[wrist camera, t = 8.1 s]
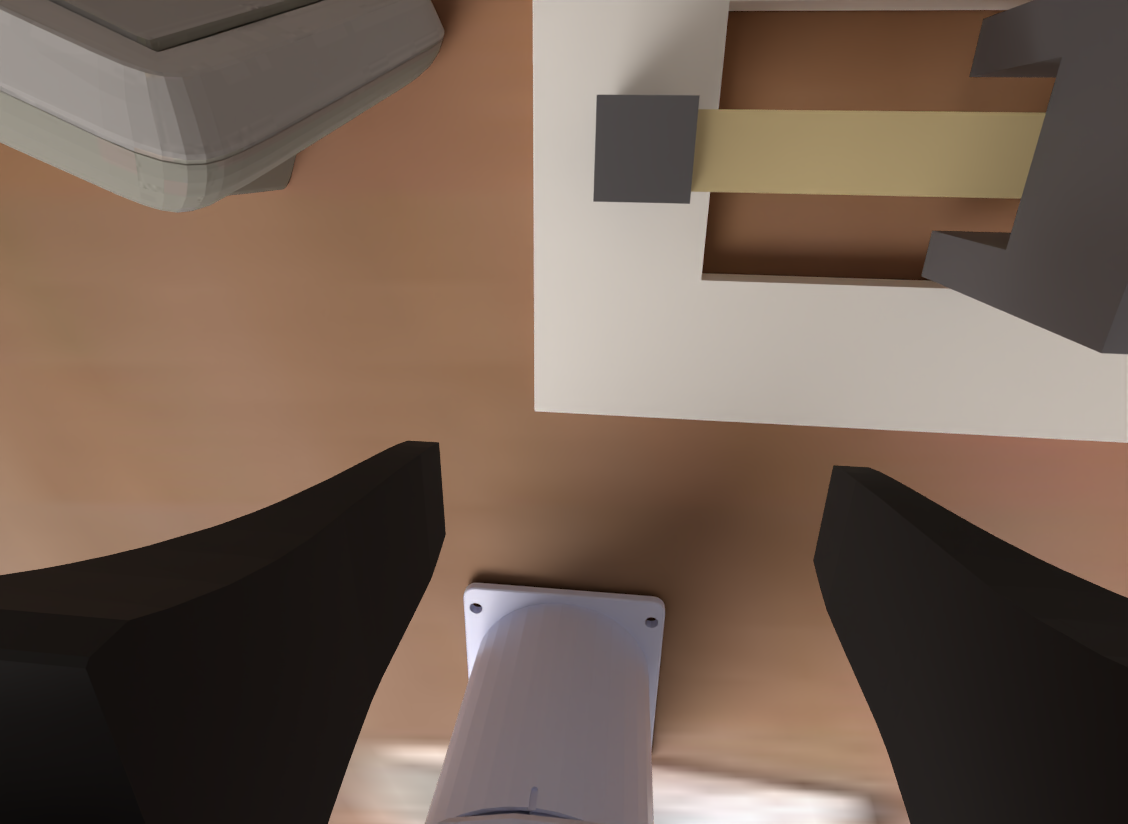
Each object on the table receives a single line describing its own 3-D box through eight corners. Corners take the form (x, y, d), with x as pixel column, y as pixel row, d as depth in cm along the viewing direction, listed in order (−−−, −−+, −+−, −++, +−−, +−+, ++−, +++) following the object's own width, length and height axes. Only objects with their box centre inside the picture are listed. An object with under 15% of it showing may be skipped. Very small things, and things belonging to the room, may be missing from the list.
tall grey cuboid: (1014, 279, 17) (1256, 359, 10) (921, 276, 17) (1101, 353, 10) (1092, 19, 14) (1473, -91, 8) (983, 19, 14) (1265, -88, 8)
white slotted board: (1155, 429, 20) (1367, 541, 14) (539, 397, 21) (506, 486, 16) (1391, -118, 14) (1894, -296, 9) (539, -102, 16) (488, -241, 10)
